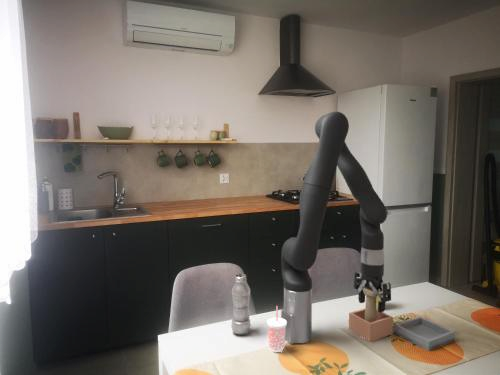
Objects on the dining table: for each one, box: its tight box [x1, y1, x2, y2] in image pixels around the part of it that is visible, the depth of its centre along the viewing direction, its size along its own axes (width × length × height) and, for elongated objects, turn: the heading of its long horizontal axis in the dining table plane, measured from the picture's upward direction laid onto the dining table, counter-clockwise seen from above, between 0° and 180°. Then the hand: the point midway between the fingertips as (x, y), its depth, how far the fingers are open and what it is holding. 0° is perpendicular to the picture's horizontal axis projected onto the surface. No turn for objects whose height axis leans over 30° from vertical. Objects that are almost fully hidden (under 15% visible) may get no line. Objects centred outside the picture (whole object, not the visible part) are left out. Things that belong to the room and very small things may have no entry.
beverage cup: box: [266, 305, 287, 352], centre depth 115 cm, size 6×6×14 cm
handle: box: [363, 287, 380, 323], centre depth 126 cm, size 5×6×15 cm
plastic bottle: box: [231, 273, 252, 335], centre depth 125 cm, size 6×7×20 cm
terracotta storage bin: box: [348, 308, 394, 343], centre depth 126 cm, size 11×10×6 cm
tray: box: [393, 316, 456, 352], centre depth 123 cm, size 13×13×3 cm
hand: (371, 307), depth 126 cm, fingers open, 8 cm apart
